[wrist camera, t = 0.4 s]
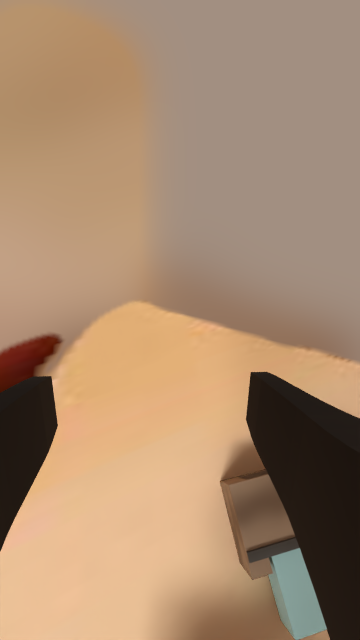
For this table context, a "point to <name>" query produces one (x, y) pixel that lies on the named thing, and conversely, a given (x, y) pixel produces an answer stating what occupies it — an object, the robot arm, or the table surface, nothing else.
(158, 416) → the table surface
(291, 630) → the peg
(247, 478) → the sleeve block
